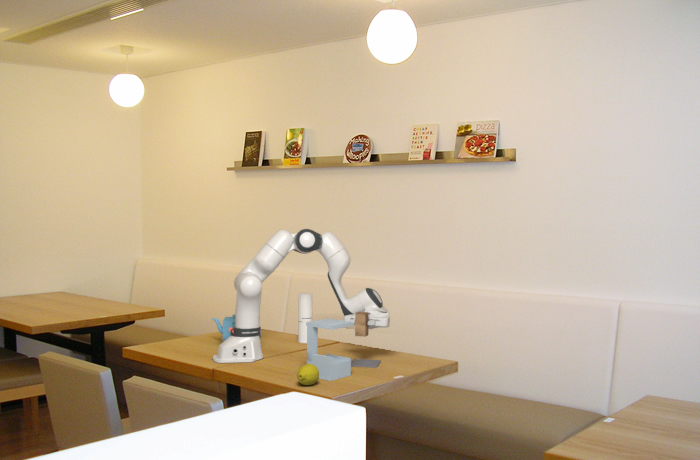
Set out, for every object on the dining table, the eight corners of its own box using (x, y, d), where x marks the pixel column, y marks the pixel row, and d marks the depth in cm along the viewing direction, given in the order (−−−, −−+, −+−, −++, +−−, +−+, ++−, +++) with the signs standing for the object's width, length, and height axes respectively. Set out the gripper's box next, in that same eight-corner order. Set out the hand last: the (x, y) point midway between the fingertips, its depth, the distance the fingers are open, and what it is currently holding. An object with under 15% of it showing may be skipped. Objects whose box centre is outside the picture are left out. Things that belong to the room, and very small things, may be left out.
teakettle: (237, 338, 332) (237, 311, 332) (262, 342, 320) (261, 314, 320) (208, 344, 317) (208, 315, 317) (233, 348, 305) (233, 318, 305)
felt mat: (349, 366, 269) (349, 364, 269) (354, 360, 281) (354, 358, 281) (376, 367, 267) (376, 366, 267) (380, 361, 278) (380, 360, 278)
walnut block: (358, 334, 272) (358, 311, 272) (368, 335, 271) (368, 311, 271) (355, 336, 268) (355, 312, 268) (365, 336, 267) (365, 313, 267)
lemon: (309, 380, 244) (309, 360, 244) (324, 384, 239) (324, 363, 239) (290, 386, 235) (290, 365, 235) (305, 389, 230) (305, 368, 230)
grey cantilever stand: (328, 369, 262) (328, 318, 262) (353, 375, 253) (353, 322, 253) (306, 375, 252) (306, 322, 252) (331, 381, 243) (331, 325, 243)
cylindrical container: (310, 343, 319) (310, 294, 319) (296, 342, 321) (296, 294, 321) (313, 340, 326) (313, 292, 326) (300, 340, 328) (300, 292, 328)
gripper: (349, 310, 285) (338, 314, 272) (392, 313, 278) (383, 317, 265) (349, 324, 285) (338, 328, 272) (392, 327, 278) (383, 332, 265)
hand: (361, 323), depth 269 cm, fingers closed on walnut block, 4 cm apart
